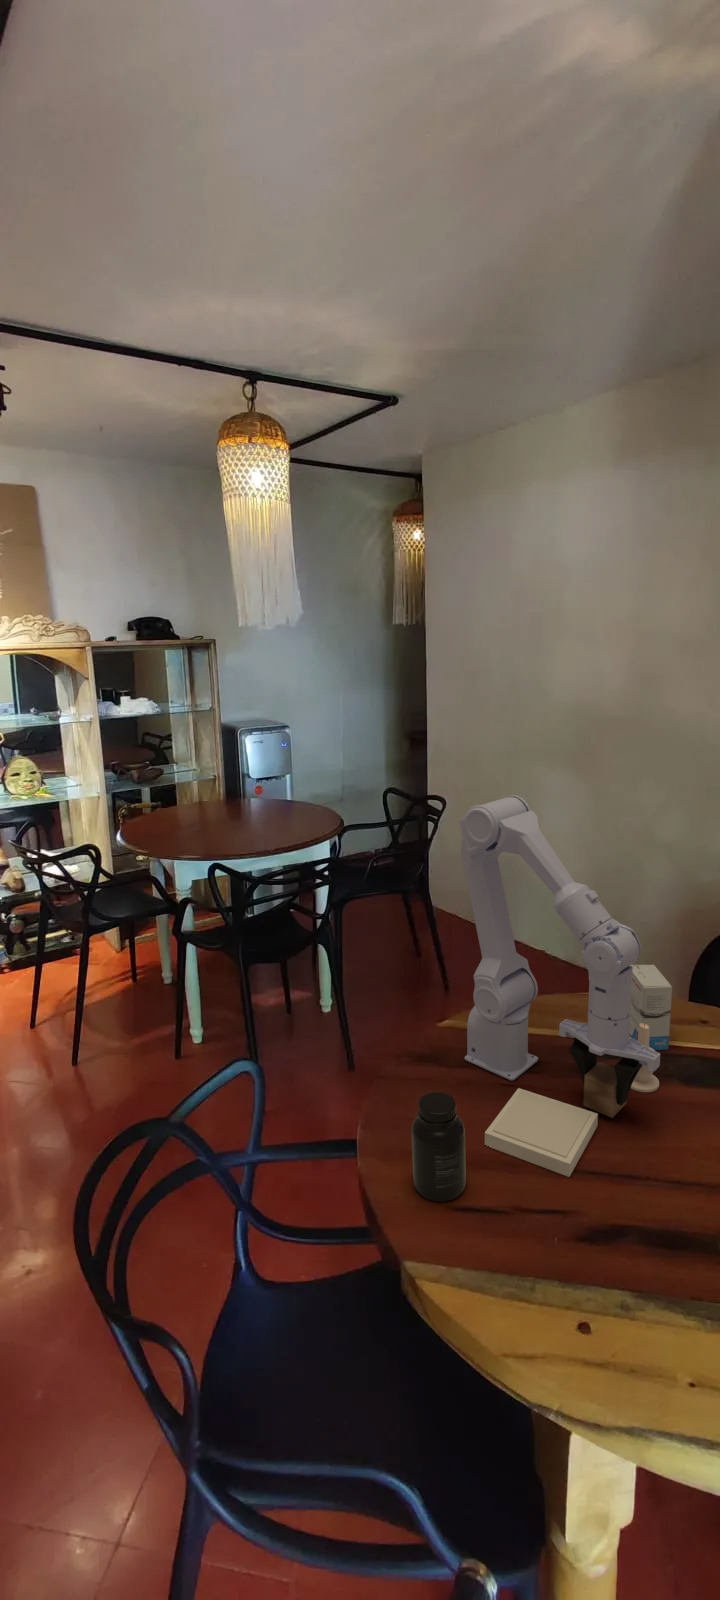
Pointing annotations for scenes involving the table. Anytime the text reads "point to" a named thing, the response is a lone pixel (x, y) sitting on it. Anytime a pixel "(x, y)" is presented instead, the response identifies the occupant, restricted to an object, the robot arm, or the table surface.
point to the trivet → (542, 1131)
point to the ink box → (651, 1005)
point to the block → (601, 1090)
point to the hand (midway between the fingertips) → (605, 1094)
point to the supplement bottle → (438, 1148)
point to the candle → (644, 1076)
